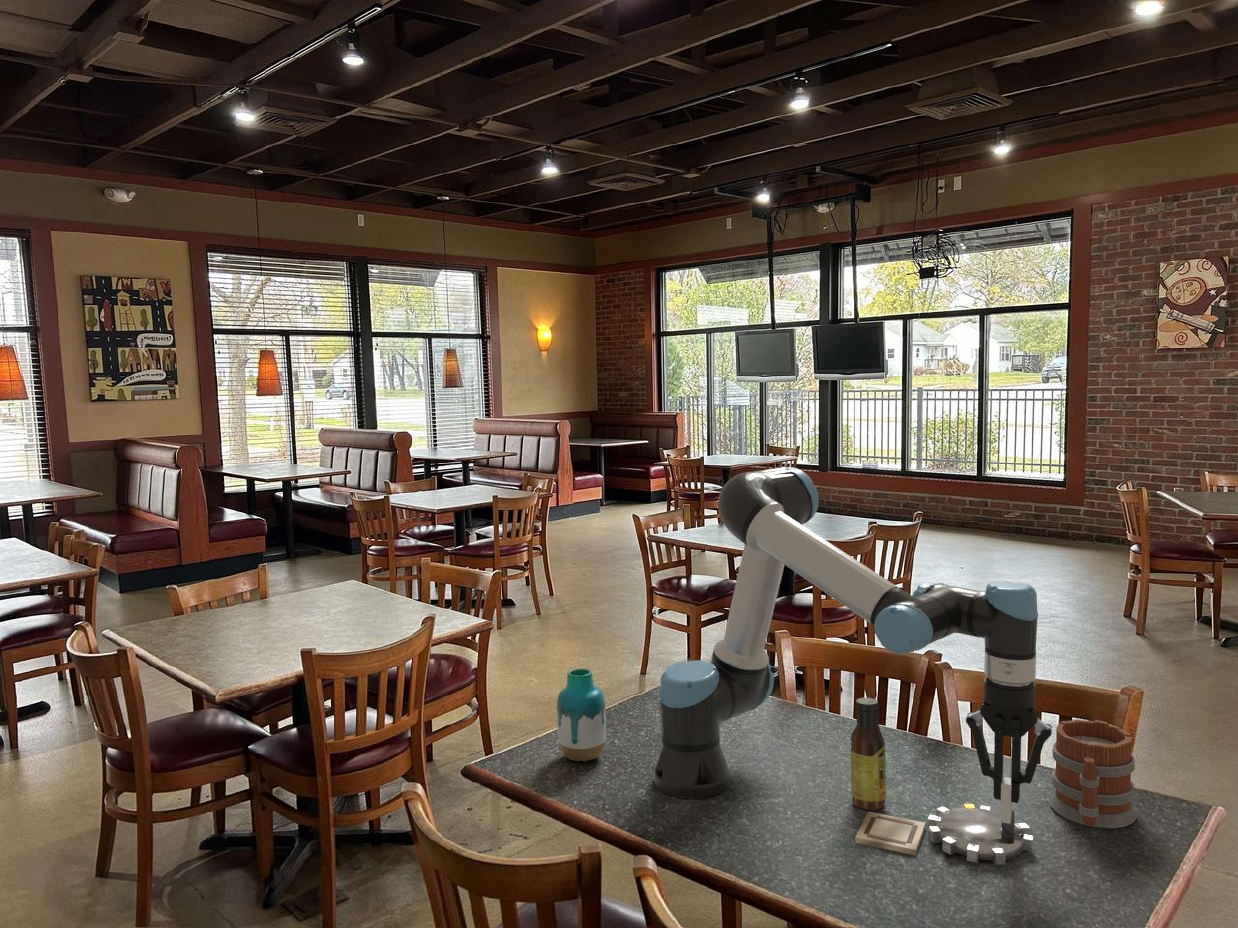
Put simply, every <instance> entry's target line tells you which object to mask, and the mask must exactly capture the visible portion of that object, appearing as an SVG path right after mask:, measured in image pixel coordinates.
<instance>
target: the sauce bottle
mask: <svg viewBox="0 0 1238 928" xmlns="http://www.w3.org/2000/svg"><path fill="white" fill-rule="evenodd" d="M855 708H856V718H857V719H856V726H855V727H854V729H853V730H852V732H851V736H850V737H851V738H850V742H851V744H850V745H851V748H850V771H851V773H850V774H851V775H850V778H851V779H850V780H851V783H850V784H851V795H852V798H851V799H852V800H851V801H852V804H853V805H854V806H855V807H856V808H859V809H862V810H864V811H865V810H867V811H876V810H880V809H882V808H884V806H886V805H885V804H886V798H887V793H886V792H887V788H886V786H887V784H886V781H887V778H886V775H887V772H886V770H887V769H886V742H885V739H884V736H883V734H882V732H881V731H882V730H881V728H880V725H879V720H878V718H879V717H878V715H879V713H878V710H879V701H878V700H877V699H875V698H872V697H860V698H857V699H856V700H855Z"/></svg>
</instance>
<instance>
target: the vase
mask: <svg viewBox="0 0 1238 928" xmlns="http://www.w3.org/2000/svg"><path fill="white" fill-rule="evenodd" d="M566 674H567V675H566V687H564V688H563V689H561V690H560V691H559V692H558V696H557V700H556V725H557V726H556V729H557V731H556V732H557V737H558V738H557V739H558V744H559V745H558V746H559V748H560V751H561V753H562V755H563V756H564V757H566V758H567V759H569V760H571V761H573V760H574V762H579V761H583V762H590V761H592V759H593V760H596V759H597V758H598V757H599V756H601V754H602V753H603V752H604V749H605V747H606V743H607V711H606V701H605V696H604V693H603V692H602V689H600V688H599V687H597V686H595V684H594V679H593V671H592V670H591V669H588V668H582V667H581V668H579V667H578V668H573V669H570V670H569V671H568V672H567V673H566ZM589 760H590V761H589Z"/></svg>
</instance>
